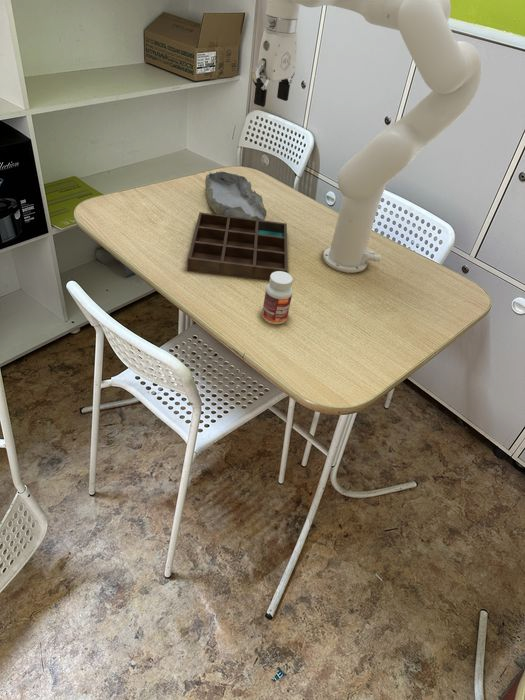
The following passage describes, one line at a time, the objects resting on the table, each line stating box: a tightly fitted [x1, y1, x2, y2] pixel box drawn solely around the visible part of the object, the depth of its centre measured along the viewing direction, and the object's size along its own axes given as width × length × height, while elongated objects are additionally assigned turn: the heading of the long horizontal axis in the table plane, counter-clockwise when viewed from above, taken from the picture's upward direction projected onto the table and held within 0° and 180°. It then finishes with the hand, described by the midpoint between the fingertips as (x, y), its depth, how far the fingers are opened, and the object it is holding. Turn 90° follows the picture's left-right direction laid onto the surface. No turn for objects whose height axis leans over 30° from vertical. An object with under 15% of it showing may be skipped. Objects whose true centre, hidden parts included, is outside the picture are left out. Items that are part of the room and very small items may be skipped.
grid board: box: [186, 211, 289, 282], centre depth 143 cm, size 26×26×4 cm
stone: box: [204, 170, 267, 221], centre depth 162 cm, size 14×8×30 cm
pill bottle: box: [261, 271, 293, 325], centre depth 121 cm, size 6×6×11 cm
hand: (271, 102), depth 134 cm, fingers open, 9 cm apart
